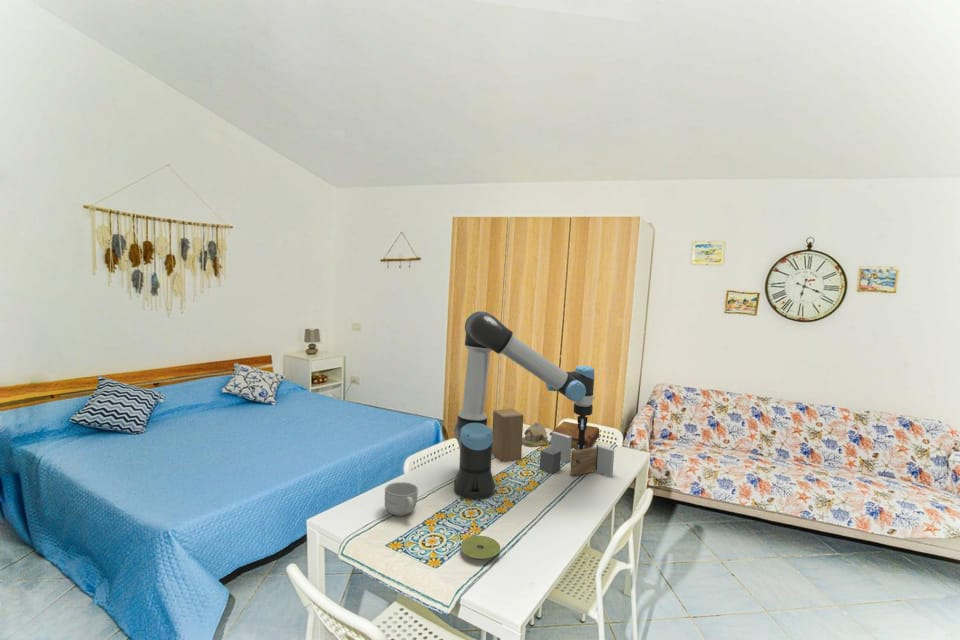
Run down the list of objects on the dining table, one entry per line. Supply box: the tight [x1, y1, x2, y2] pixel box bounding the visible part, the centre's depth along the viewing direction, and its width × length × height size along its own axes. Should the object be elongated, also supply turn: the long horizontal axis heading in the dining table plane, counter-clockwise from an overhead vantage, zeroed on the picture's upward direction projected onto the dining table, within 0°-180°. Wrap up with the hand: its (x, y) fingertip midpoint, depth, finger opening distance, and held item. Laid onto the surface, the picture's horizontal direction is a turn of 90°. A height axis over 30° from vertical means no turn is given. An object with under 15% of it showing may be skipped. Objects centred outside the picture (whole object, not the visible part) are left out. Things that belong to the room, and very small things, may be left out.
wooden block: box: [491, 408, 524, 463], centre depth 202 cm, size 10×10×20 cm
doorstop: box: [539, 446, 561, 474], centre depth 190 cm, size 6×6×8 cm
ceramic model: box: [522, 422, 550, 448], centre depth 221 cm, size 14×11×10 cm
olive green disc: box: [460, 535, 501, 559], centre depth 130 cm, size 11×11×2 cm
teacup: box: [384, 481, 419, 517], centre depth 150 cm, size 14×11×8 cm
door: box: [569, 444, 599, 477], centre depth 187 cm, size 2×13×11 cm, turn 117°
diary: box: [548, 420, 600, 450], centre depth 227 cm, size 23×19×6 cm
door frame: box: [550, 431, 615, 478], centre depth 195 cm, size 2×29×11 cm, turn 47°
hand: (580, 459), depth 190 cm, fingers closed
